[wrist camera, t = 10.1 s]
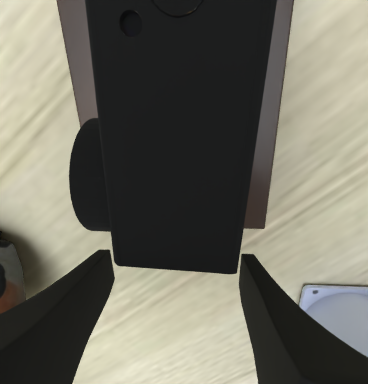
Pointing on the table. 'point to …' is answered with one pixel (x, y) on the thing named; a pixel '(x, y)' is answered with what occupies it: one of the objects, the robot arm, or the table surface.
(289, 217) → the table surface
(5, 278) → the lucky cat figurine
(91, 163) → the digital camera
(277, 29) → the desk shelf
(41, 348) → the robot arm
